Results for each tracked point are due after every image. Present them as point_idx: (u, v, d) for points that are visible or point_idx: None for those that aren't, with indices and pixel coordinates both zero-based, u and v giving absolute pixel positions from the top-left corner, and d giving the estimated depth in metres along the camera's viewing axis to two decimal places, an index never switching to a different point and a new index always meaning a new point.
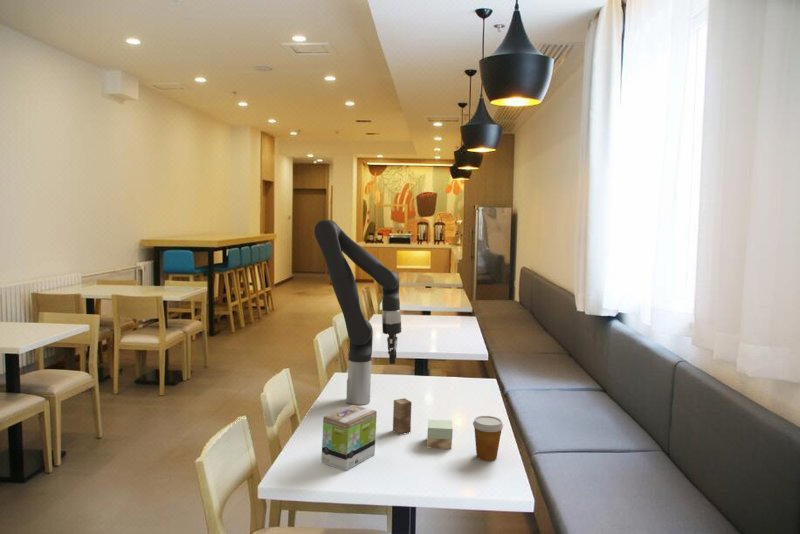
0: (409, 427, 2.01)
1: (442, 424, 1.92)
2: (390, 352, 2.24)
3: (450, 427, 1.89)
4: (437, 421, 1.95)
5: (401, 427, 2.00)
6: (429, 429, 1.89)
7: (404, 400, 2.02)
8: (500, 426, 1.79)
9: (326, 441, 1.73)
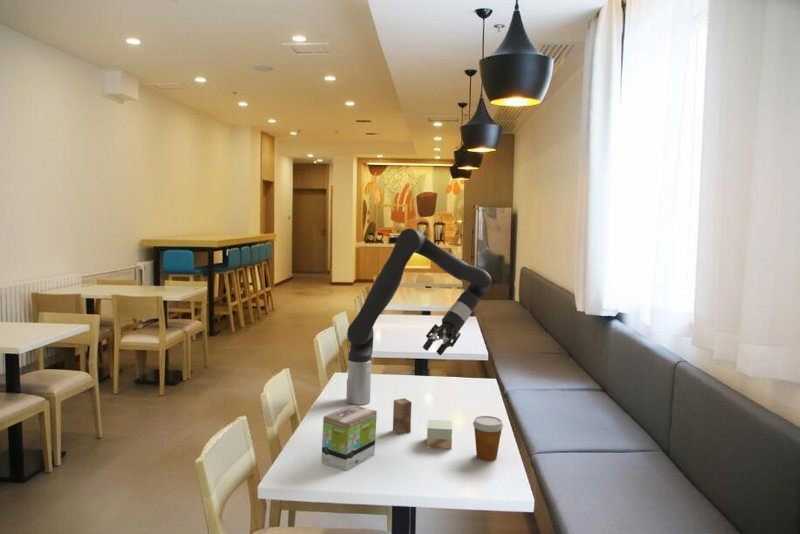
0: (409, 427, 2.01)
1: (441, 425, 1.92)
2: (450, 342, 2.02)
3: (449, 427, 1.89)
4: (436, 421, 1.95)
5: (401, 427, 2.00)
6: (428, 429, 1.88)
7: (404, 400, 2.02)
8: (500, 426, 1.79)
9: (326, 441, 1.73)
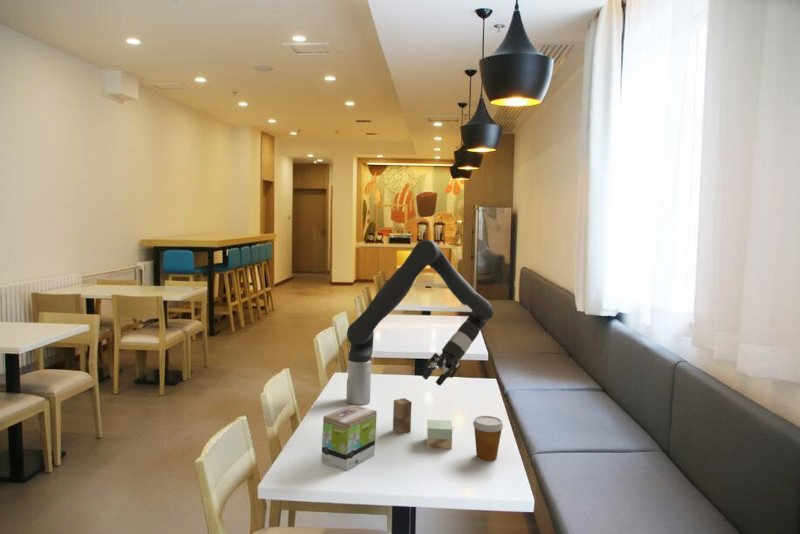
0: (409, 427, 2.01)
1: (441, 425, 1.92)
2: (450, 373, 2.03)
3: (450, 427, 1.89)
4: (436, 421, 1.95)
5: (401, 427, 2.00)
6: (429, 429, 1.88)
7: (404, 400, 2.02)
8: (500, 426, 1.79)
9: (326, 441, 1.73)
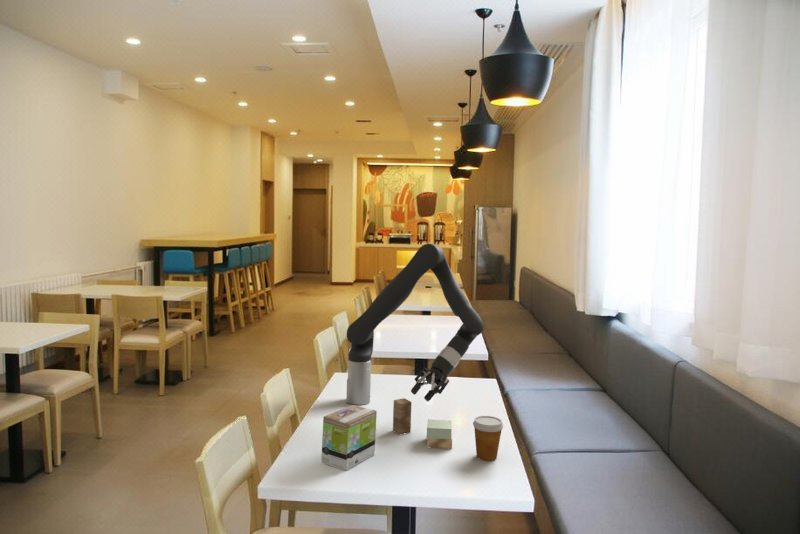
0: (409, 427, 2.01)
1: (441, 424, 1.92)
2: (438, 389, 2.01)
3: (449, 427, 1.90)
4: (437, 421, 1.95)
5: (401, 427, 2.00)
6: (428, 429, 1.89)
7: (404, 400, 2.02)
8: (500, 426, 1.79)
9: (326, 441, 1.73)
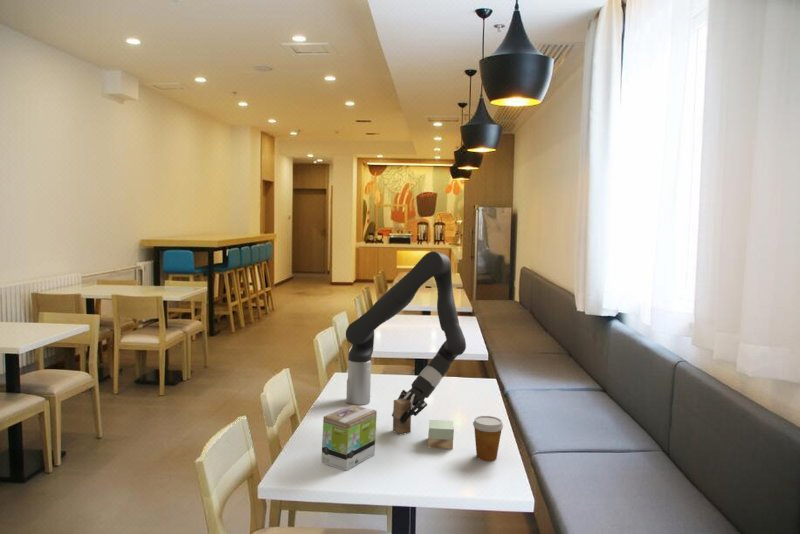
0: (409, 427, 2.01)
1: (443, 425, 1.92)
2: (414, 411, 1.98)
3: (451, 427, 1.89)
4: (438, 421, 1.95)
5: (401, 427, 2.00)
6: (430, 429, 1.88)
7: (404, 400, 2.02)
8: (500, 426, 1.79)
9: (326, 441, 1.73)
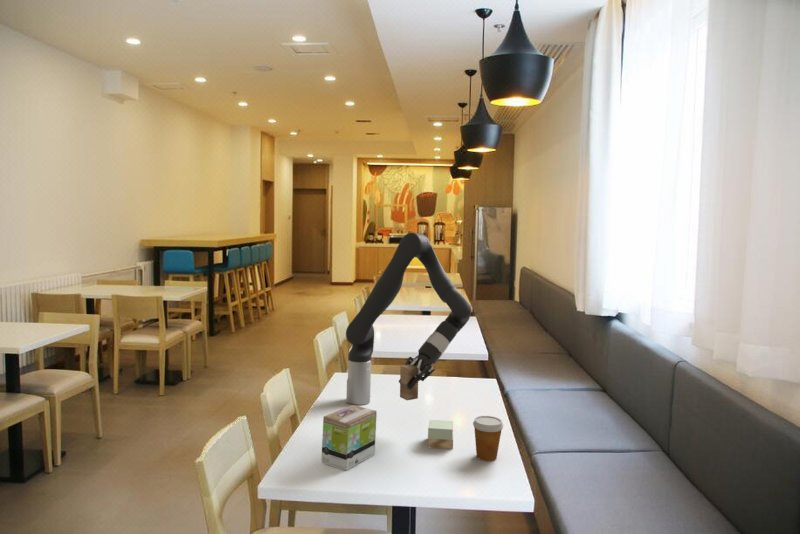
0: (416, 393, 1.99)
1: (442, 425, 1.92)
2: (421, 376, 1.96)
3: (450, 428, 1.89)
4: (438, 421, 1.95)
5: (408, 393, 1.97)
6: (429, 429, 1.89)
7: (411, 366, 2.00)
8: (500, 426, 1.79)
9: (326, 441, 1.73)
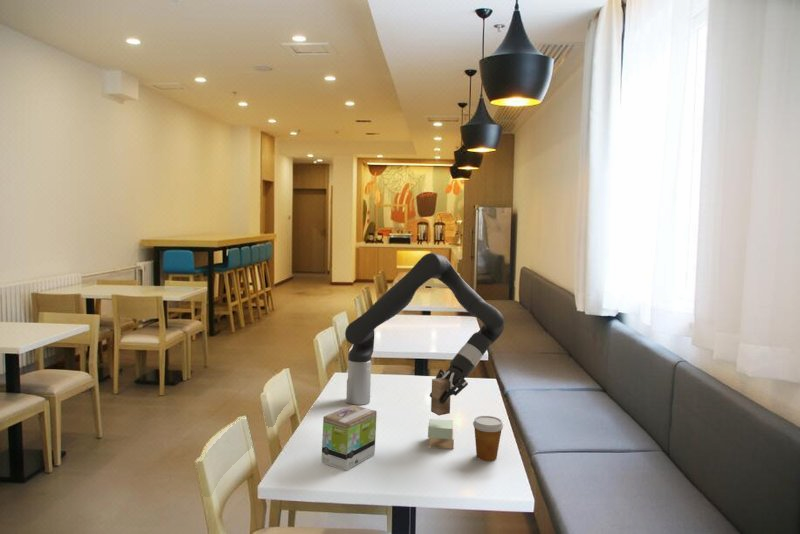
0: (448, 407, 1.91)
1: (442, 424, 1.92)
2: (454, 391, 1.88)
3: (450, 427, 1.90)
4: (438, 421, 1.95)
5: (440, 407, 1.89)
6: (429, 429, 1.89)
7: (443, 379, 1.92)
8: (500, 426, 1.79)
9: (326, 441, 1.73)
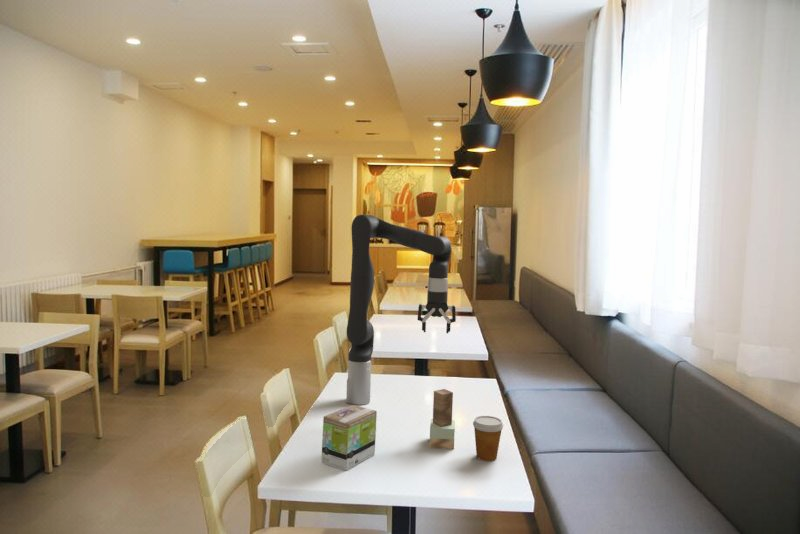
0: (450, 419, 1.92)
1: None
2: None
3: (452, 427, 1.90)
4: None
5: (443, 419, 1.90)
6: (431, 429, 1.89)
7: (445, 391, 1.92)
8: (500, 426, 1.79)
9: (326, 441, 1.73)
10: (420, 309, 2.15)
